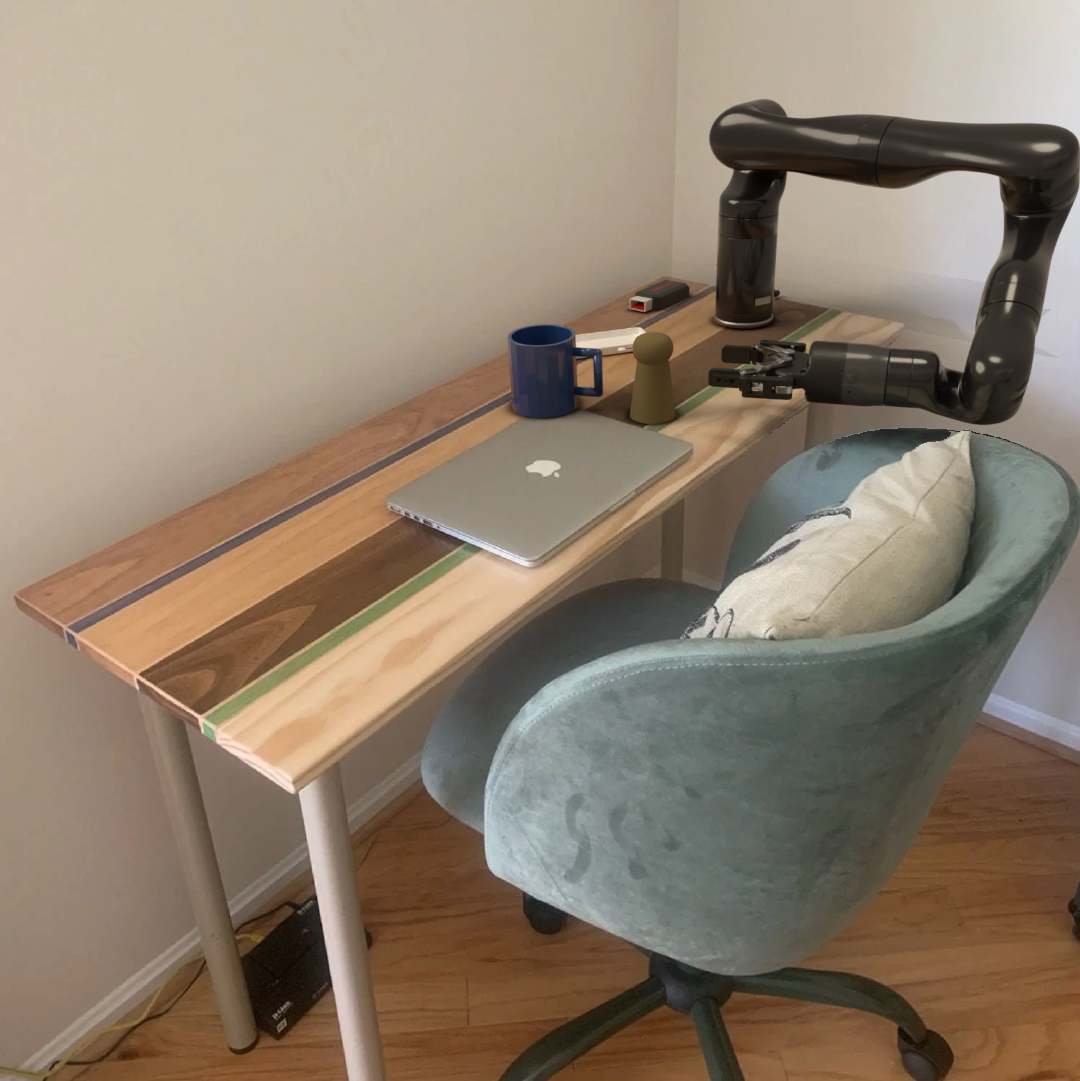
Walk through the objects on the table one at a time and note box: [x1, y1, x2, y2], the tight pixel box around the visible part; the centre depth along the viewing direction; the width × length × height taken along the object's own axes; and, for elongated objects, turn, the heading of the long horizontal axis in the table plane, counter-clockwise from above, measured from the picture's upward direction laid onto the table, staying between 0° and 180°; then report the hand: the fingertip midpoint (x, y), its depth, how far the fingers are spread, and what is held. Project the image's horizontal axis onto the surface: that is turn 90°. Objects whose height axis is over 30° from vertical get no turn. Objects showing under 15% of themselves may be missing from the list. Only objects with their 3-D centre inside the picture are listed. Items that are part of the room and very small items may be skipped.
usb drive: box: [629, 279, 690, 313], centre depth 179 cm, size 5×12×3 cm, turn 139°
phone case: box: [576, 326, 647, 360], centre depth 161 cm, size 7×1×15 cm
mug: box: [507, 323, 604, 419], centre depth 139 cm, size 13×9×10 cm
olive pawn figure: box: [629, 331, 677, 425], centre depth 135 cm, size 6×6×11 cm
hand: (715, 364), depth 131 cm, fingers open, 8 cm apart
